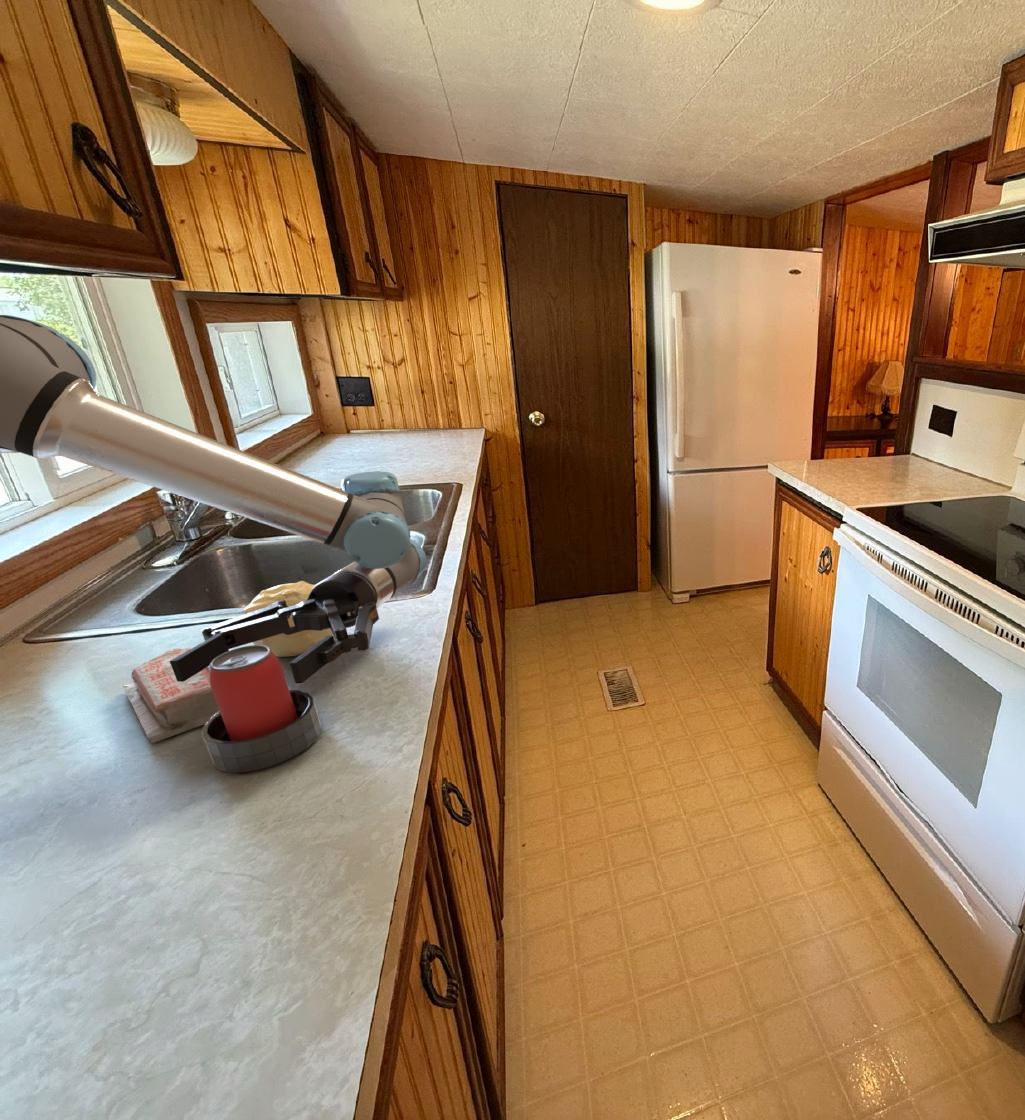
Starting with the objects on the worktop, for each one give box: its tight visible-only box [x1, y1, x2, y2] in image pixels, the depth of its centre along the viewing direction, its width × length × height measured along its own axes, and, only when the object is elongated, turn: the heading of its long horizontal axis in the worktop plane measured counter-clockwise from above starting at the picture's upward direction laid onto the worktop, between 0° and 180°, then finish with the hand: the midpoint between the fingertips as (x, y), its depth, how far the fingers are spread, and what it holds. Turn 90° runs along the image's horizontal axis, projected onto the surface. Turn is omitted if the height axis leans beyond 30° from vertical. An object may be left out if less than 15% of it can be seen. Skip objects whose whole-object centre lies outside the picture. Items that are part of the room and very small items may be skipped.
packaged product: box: [122, 647, 220, 744], centre depth 81 cm, size 18×5×10 cm
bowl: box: [201, 689, 322, 773], centre depth 73 cm, size 11×11×4 cm
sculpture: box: [243, 580, 333, 658], centre depth 94 cm, size 11×12×11 cm
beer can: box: [210, 644, 298, 741], centre depth 71 cm, size 7×7×12 cm
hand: (235, 672), depth 68 cm, fingers open, 13 cm apart
